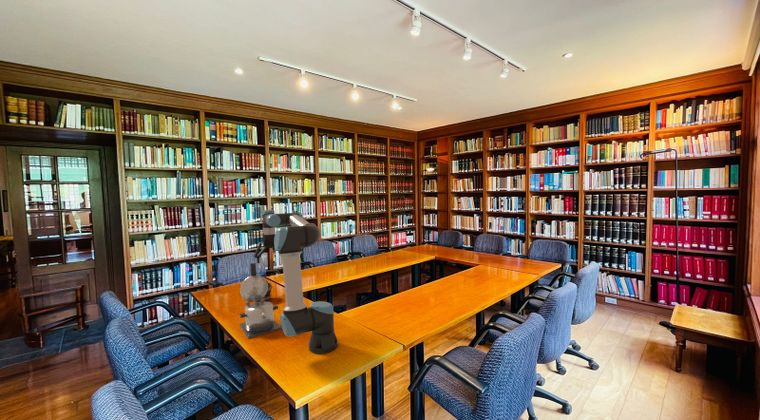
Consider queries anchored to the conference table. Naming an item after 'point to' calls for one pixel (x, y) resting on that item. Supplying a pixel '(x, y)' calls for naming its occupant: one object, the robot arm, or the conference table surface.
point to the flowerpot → (267, 293)
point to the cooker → (259, 319)
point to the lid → (253, 286)
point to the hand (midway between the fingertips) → (270, 266)
